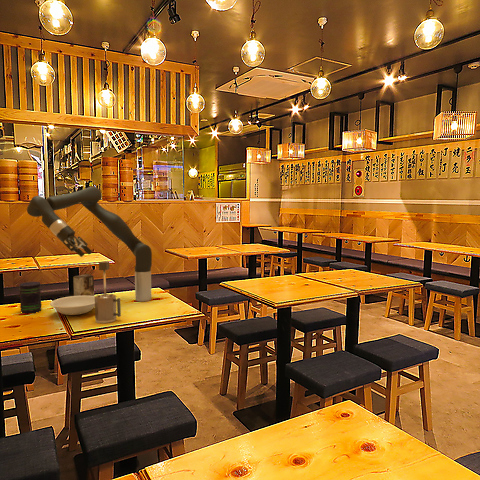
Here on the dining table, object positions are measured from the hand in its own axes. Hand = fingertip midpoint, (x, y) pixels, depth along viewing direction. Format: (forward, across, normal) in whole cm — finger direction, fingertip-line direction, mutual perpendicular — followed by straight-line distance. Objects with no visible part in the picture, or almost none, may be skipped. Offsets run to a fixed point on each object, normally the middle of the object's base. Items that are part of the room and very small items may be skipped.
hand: (87, 254), depth 185 cm
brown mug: (+29, -1, -17) cm, 34 cm away
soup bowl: (+14, -12, -32) cm, 37 cm away
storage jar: (-4, -14, -49) cm, 51 cm away
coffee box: (+11, -31, -35) cm, 48 cm away
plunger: (+21, -1, -10) cm, 23 cm away
